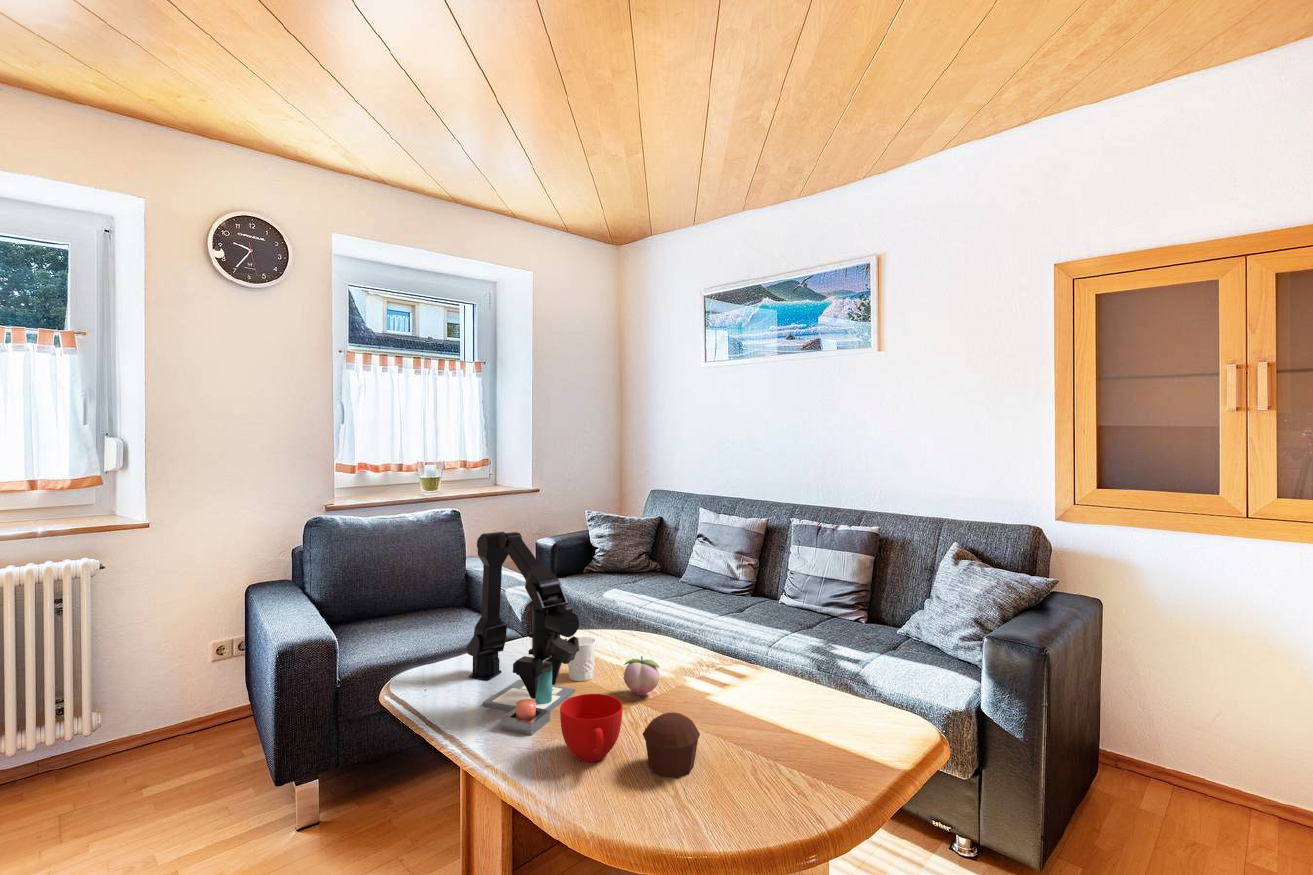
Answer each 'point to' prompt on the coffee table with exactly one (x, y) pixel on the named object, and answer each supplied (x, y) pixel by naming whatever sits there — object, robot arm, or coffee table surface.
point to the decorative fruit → (641, 675)
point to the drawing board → (525, 697)
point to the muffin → (671, 745)
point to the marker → (545, 684)
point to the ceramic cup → (591, 725)
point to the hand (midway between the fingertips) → (543, 691)
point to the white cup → (583, 660)
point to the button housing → (525, 722)
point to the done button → (526, 709)
